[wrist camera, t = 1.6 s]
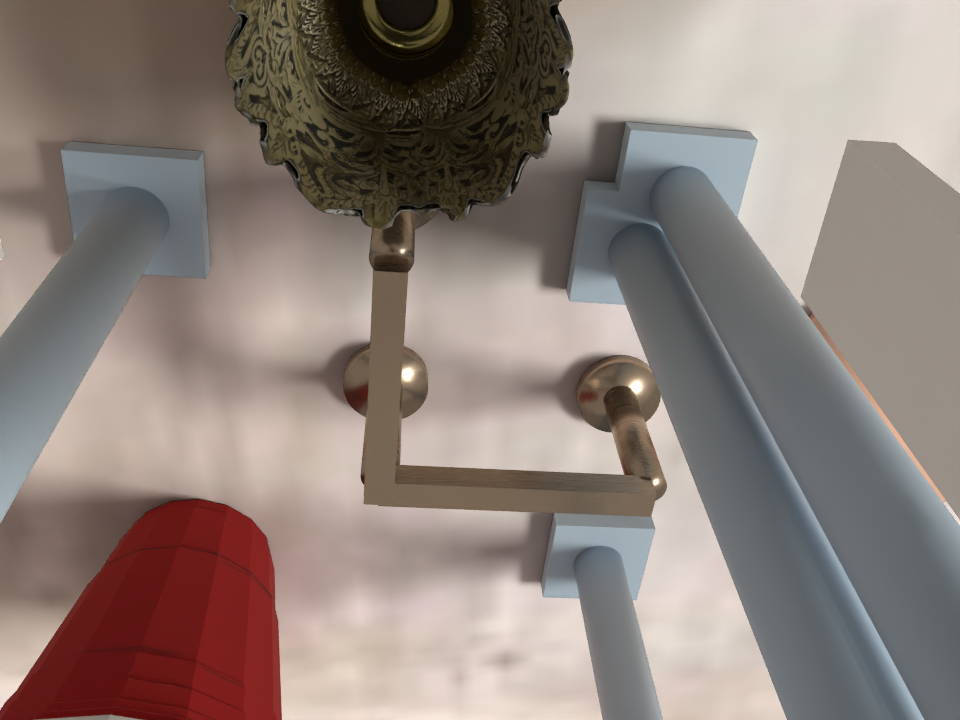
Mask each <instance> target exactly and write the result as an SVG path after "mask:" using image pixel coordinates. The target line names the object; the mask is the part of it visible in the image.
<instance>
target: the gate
mask: <svg viewBox="0 0 960 720" xmlns="http://www.w3.org/2000/svg"><path fill="white" fill-rule="evenodd" d="M61 156H62V163H63V170H64V177H65V184H66V191H67V198H68V204H69V211H70V218H71V225H72V232H73V239H74V242H73V243H72V244H71V246H70V247H69V248H68V250H67V251H66V252H65V253H64V255H63V256H62V257H61V259H60V260H59V261H58V263H57V264H56V265H55V267H54V268H53V269H52V270H51V272H50V273H49V274H48V276H47V277H46V278H45V280H44V281H43V282H42V284H41V285H40V286H39V287H38V289H37V290H36V291H35V293H34V294H33V295H32V297H31V298H30V299H29V301H28V302H27V303H26V305H25V306H24V307H23V308H22V310H21V311H20V312H19V314H18V315H17V316H16V318H15V319H14V320H13V322H12V323H11V324H10V325H9V327H8V328H7V329H6V331H5V332H4V333H3V335H2V336H1V337H0V523H1V522H2V520H3V518H4V516H5V515H6V513H7V511H8V509H9V508H10V506H11V504H12V502H13V501H14V499H15V497H16V495H17V494H18V492H19V490H20V488H21V487H22V485H23V483H24V481H25V480H26V478H27V476H28V474H29V473H30V471H31V469H32V467H33V466H34V464H35V462H36V460H37V459H38V457H39V455H40V453H41V452H42V450H43V448H44V446H45V445H46V443H47V441H48V439H49V438H50V436H51V434H52V432H53V431H54V429H55V427H56V425H57V424H58V422H59V420H60V418H61V417H62V415H63V413H64V411H65V410H66V408H67V406H68V404H69V403H70V401H71V399H72V397H73V396H74V394H75V392H76V390H77V389H78V387H79V385H80V383H81V382H82V380H83V378H84V376H85V375H86V373H87V371H88V369H89V368H90V366H91V364H92V362H93V361H94V359H95V357H96V355H97V354H98V352H99V350H100V348H101V347H102V345H103V343H104V341H105V340H106V338H107V336H108V334H109V333H110V331H111V329H112V327H113V326H114V324H115V322H116V320H117V319H118V317H119V315H120V313H121V312H122V310H123V308H124V307H125V305H126V303H127V301H128V300H129V298H130V296H131V294H132V293H133V291H134V289H135V287H136V286H137V284H138V282H139V280H140V279H141V277H142V275H157V276H173V277H189V278H205V279H206V277H207V274H208V272H209V270H210V252H209V236H208V219H207V203H206V187H205V171H204V155H203V151H191V150H178V149H164V148H151V147H138V146H125V145H111V144H98V143H85V142H72V141H69V142H68V143H67V144H66V145H65V146H64V147H63V148H62V149H61ZM566 292H567V295H568V299H569V301H572V302H588V303H604V304H620V305H626V306H627V309H628V312H629V314H630V317H631V319H632V322H633V324H634V327H635V330H636V332H637V335H638V337H639V340H640V342H641V345H642V348H643V350H644V353H645V355H646V358H647V360H648V363H649V366H650V368H651V371H652V373H653V376H654V378H655V381H656V384H657V386H658V389H659V391H660V394H661V396H662V399H663V402H664V404H665V407H666V409H667V412H668V414H669V417H670V420H671V422H672V425H673V427H674V430H675V432H676V435H677V438H678V440H679V443H680V445H681V448H682V450H683V453H684V456H685V458H686V461H687V463H688V466H689V468H690V471H691V474H692V476H693V479H694V481H695V484H696V486H697V489H698V492H699V494H700V497H701V499H702V502H703V504H704V507H705V510H706V512H707V515H708V517H709V520H710V522H711V525H712V528H713V530H714V533H715V535H716V538H717V541H718V543H719V546H720V548H721V551H722V553H723V556H724V559H725V561H726V564H727V566H728V569H729V571H730V574H731V577H732V579H733V582H734V584H735V587H736V589H737V592H738V595H739V597H740V600H741V602H742V605H743V607H744V610H745V613H746V615H747V618H748V620H749V623H750V625H751V628H752V631H753V633H754V636H755V638H756V641H757V643H758V646H759V649H760V651H761V654H762V656H763V659H764V661H765V664H766V667H767V669H768V672H769V674H770V677H771V679H772V682H773V685H774V687H775V690H776V692H777V695H778V697H779V700H780V703H781V705H782V708H783V710H784V713H785V715H786V718H787V720H924V718H923V717H922V715H921V713H920V711H919V709H918V707H917V705H916V703H915V702H914V700H913V698H912V696H911V694H910V692H909V690H908V688H907V687H906V685H905V683H904V681H903V679H902V677H901V675H900V674H899V672H898V670H897V668H896V666H895V664H894V662H893V660H892V659H891V657H890V655H889V653H888V651H887V649H886V647H885V646H884V644H883V642H882V640H881V638H880V636H879V634H878V632H877V631H876V629H875V627H874V625H873V623H872V621H871V619H870V617H869V616H868V614H867V612H866V610H865V608H864V606H863V604H862V603H861V601H860V599H859V597H858V595H857V593H856V591H855V589H854V588H853V586H852V584H851V582H850V580H849V578H848V576H847V574H846V573H845V571H844V569H843V567H842V565H841V563H840V561H839V560H838V558H837V556H836V554H835V552H834V550H833V548H832V546H831V545H830V543H829V541H828V539H827V537H826V535H825V533H824V532H823V530H822V528H821V526H820V524H819V522H818V520H817V518H816V517H815V515H814V513H813V511H812V509H811V507H810V505H809V503H808V502H807V500H806V498H805V496H804V494H803V492H802V490H801V489H800V487H799V485H798V483H797V481H796V479H795V477H794V475H793V474H792V472H791V470H790V468H789V466H788V464H787V462H786V460H785V459H784V457H783V455H782V453H781V451H780V449H779V447H778V446H777V444H776V442H775V440H774V438H773V436H772V434H771V432H770V431H769V429H768V427H767V425H766V423H765V421H764V419H763V418H762V416H761V414H760V412H759V410H758V408H757V406H756V404H755V403H754V401H753V399H752V397H751V395H750V393H749V391H748V389H747V388H746V386H745V384H744V382H743V380H742V378H741V376H740V375H739V373H738V371H737V369H736V367H735V365H734V363H733V361H732V360H731V358H730V356H729V354H728V352H727V350H726V348H725V346H724V345H723V343H722V341H721V339H720V337H719V335H718V333H717V332H716V330H715V328H714V326H713V324H712V322H711V320H710V318H709V317H708V315H707V313H706V311H705V309H704V307H703V305H702V304H701V302H700V300H699V298H698V296H697V294H696V292H695V290H694V289H693V287H692V285H691V283H690V281H689V279H688V277H687V275H686V274H685V272H684V270H683V268H682V266H681V264H680V262H679V261H678V259H677V257H676V255H675V253H674V251H673V249H672V247H671V246H670V244H669V242H668V240H667V238H666V236H665V234H664V232H663V231H662V229H661V227H660V225H659V223H658V221H657V219H656V218H655V216H654V214H653V212H652V210H651V207H650V194H642V193H629V192H619V190H618V188H617V186H616V184H615V182H601V181H588V180H584V185H583V192H582V198H581V204H580V210H579V216H578V222H577V228H576V234H575V240H574V246H573V252H572V258H571V264H570V270H569V276H568V282H567V288H566Z"/></svg>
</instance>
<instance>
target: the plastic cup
mask: <svg viewBox="0 0 960 720" xmlns="http://www.w3.org/2000/svg"><path fill="white" fill-rule="evenodd" d="M0 720H282V713H281V686H280V658H279V631H278V619H277V615H276V611H275V577H274V566H273V562H272V558H271V553H270V549H269V545H268V541H267V537H266V536H265V535H264V534H263V533H262V531H261V530H260V529H259V528H258V527H257V525H256V524H255V523H254V522H253V521H252V519H250V518H248V517H247V516H245V515H243V514H241V513H240V512H238V511H236V510H234V509H233V508H231V507H229V506H227V505H223V504H218V503H213V502H209V501H204V500H200V499H197V500H184V501H171V502H168V503H166V504H164V505H161V506H159V507H157V508H154V509H152V510H150V511H147V512H146V513H145V514H144V516H143V517H142V518H141V519H140V520H138V521H137V522H136V523H135V524H134V526H133V527H132V528H131V529H130V530H129V531H128V532H127V533H126V534H125V535H124V537H123V538H122V539H121V541H120V542H119V544H118V545H117V547H116V548H115V550H114V551H113V553H112V554H111V556H110V557H109V559H108V560H107V562H106V563H105V565H104V566H103V568H102V569H101V571H100V572H99V573H98V574H97V575H96V576H95V577H94V578H93V580H92V581H91V582H90V583H89V584H88V585H87V587H86V588H85V590H84V591H83V593H82V594H81V596H80V597H79V599H78V600H77V602H76V603H75V605H74V606H73V608H72V609H71V611H70V612H69V614H68V615H67V617H66V618H65V619H64V621H63V622H62V624H61V625H60V627H59V628H58V630H57V631H56V633H55V634H54V636H53V637H52V639H51V640H50V642H49V643H48V645H47V646H46V648H45V649H44V651H43V652H42V654H41V655H40V657H39V658H38V660H37V661H36V663H35V664H34V666H33V667H32V669H31V670H30V672H29V673H28V674H27V676H26V677H25V679H24V680H23V682H22V683H21V685H20V686H19V688H18V689H17V691H16V692H15V693H14V694H13V695H12V696H11V697H10V698H9V699H8V700H7V701H6V702H5V704H4V705H3V707H2V708H1V710H0Z"/></svg>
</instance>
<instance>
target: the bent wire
mask: <svg viewBox="0 0 960 720" xmlns="http://www.w3.org/2000/svg"><path fill="white" fill-rule="evenodd" d="M437 211H438V210H436V211H431V212H429V213H427V214H424V215H418V214H416V213H413V212H400V213H399V214H398V215H397V216H396V217H395V218H394V220H393V225H392V226H391V227H389V228H386V229H377V228H372V235H371V244H370V253H369V261H370V264H371V266H372V268H373V289H372V314H371V338H370V345H368V346H366V347H364V348H362V349H360V350H359V351H357V352H356V353H355V354H354V355H353V356H352V357H351V359H350V360H349V362H348V364H347V366H346V369H345V375H344V383H343V389H344V394H345V397H346V399H347V401H348V403H349V404H350V405H351V407H352V408H353V409H354V410H356V411H357V412H358V413H360V414H361V415H363V416H365V417H366V423H365V434H364V445H363V456H362V467H361V481H362V483H363V484H364V504H373V505H378V506H391V507H416V508H441V509H466V510H491V511H516V512H541V513H566V514H591V515H616V516H641V517H651V514H652V511H653V507H654V503H655V500H657V499H659V498H660V497H662V496H663V495H664V493H665V491H666V488H667V484H666V481H665V478H664V475H663V472H662V469H661V466H660V463H659V460H658V458H657V455H656V452H655V449H654V446H653V443H652V440H651V437H650V435H649V432H648V429H647V426H646V423H645V422H647V421H648V420H649V419H650V418H651V417H652V416H653V414H654V413H655V411H656V410H657V408H658V406H659V403H660V397H661V394H660V391H659V389H658V386H657V384H656V381H655V378H654V376H653V373H652V371H651V368H650V367H649V366H648V365H647V364H646V363H644V362H643V361H641V360H639V359H637V358H634V357H630V356H613V357H609V358H605V359H603V360H600V361H598V362H597V363H595V364H593V365H592V366H591V367H589V368H588V369H587V370H586V371H585V373H584V374H583V375H582V377H581V378H580V380H579V383H578V386H577V392H576V393H577V401H578V405H579V409H580V412H581V414H582V416H583V418H584V419H585V420H586V422H588V423H589V424H590V425H591V426H593V427H594V428H596V429H599V430H601V431H605V432H612V434H613V437H614V441H615V444H616V448H617V451H618V455H619V458H620V461H621V465H622V468H623V472H624V475H612V474H589V473H567V472H544V471H522V470H499V469H477V468H454V467H432V466H409V465H400V451H401V422H402V419H403V418H406V417H408V416H410V415H411V414H413V413H414V412H416V411H417V410H418V409H419V408H420V407H421V405H422V404H423V403H424V401H425V399H426V396H427V392H428V373H427V369H426V366H425V364H424V362H423V361H422V359H421V358H420V357H419V356H418V355H417V354H416V353H415V352H414V351H412V350H411V349H409V348H407V347H405V346H403V345H404V330H405V314H406V298H407V282H408V271H409V270H410V269H411V267H412V266H413V263H414V241H415V229H416V228H419V227H421V226H423V225H424V224H425V223H427V222H428V221H429V220H430V219H432V218H433V216H434V215H435V214H436V213H437Z"/></svg>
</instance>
